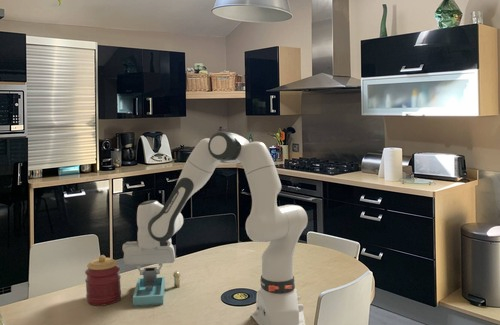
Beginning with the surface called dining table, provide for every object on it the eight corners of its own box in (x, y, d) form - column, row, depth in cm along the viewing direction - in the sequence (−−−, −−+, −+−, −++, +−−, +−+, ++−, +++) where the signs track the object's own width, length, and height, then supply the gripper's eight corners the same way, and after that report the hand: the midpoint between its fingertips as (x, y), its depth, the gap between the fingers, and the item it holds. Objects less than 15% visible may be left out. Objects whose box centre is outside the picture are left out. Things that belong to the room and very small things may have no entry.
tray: (163, 304, 172) (162, 295, 171) (133, 306, 170) (132, 297, 170) (165, 284, 191) (164, 276, 191) (138, 286, 190) (138, 278, 189)
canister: (119, 290, 186) (118, 248, 184) (123, 303, 174) (121, 258, 172) (85, 295, 181) (83, 252, 179) (87, 308, 169) (84, 262, 167)
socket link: (144, 282, 186) (144, 267, 186) (157, 281, 187) (156, 267, 186) (142, 291, 175) (141, 276, 175) (155, 291, 176) (155, 276, 175)
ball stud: (180, 287, 188) (180, 272, 187) (173, 288, 188) (172, 272, 187) (180, 285, 191) (180, 270, 190) (173, 285, 190) (173, 270, 190)
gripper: (121, 244, 177) (122, 278, 179) (174, 241, 180) (175, 275, 181) (123, 239, 183) (124, 272, 185) (174, 237, 186) (175, 270, 188)
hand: (150, 274), depth 183 cm, fingers closed on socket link, 5 cm apart
